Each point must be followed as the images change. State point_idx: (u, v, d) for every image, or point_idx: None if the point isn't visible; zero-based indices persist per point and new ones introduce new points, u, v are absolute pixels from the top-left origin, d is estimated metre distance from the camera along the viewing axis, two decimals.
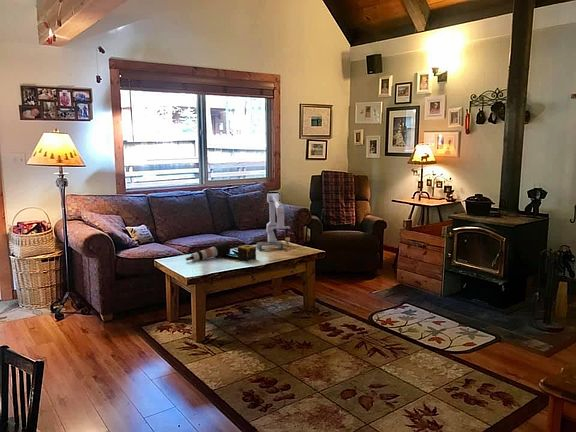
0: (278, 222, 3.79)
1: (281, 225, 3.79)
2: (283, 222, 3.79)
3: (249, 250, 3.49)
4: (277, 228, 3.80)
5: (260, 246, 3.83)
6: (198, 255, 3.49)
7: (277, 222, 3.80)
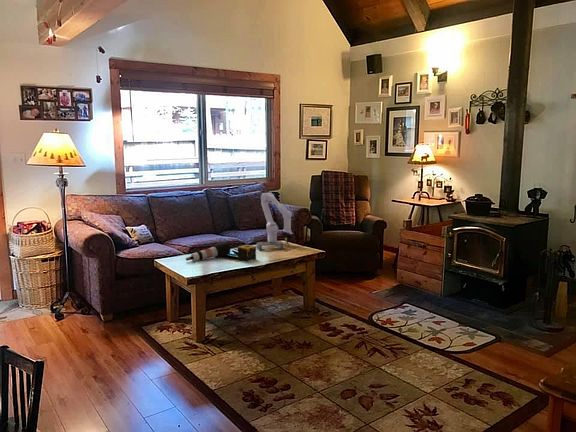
0: None
1: (284, 228, 3.99)
2: (285, 226, 3.98)
3: (249, 250, 3.49)
4: None
5: (260, 246, 3.83)
6: (198, 255, 3.49)
7: None
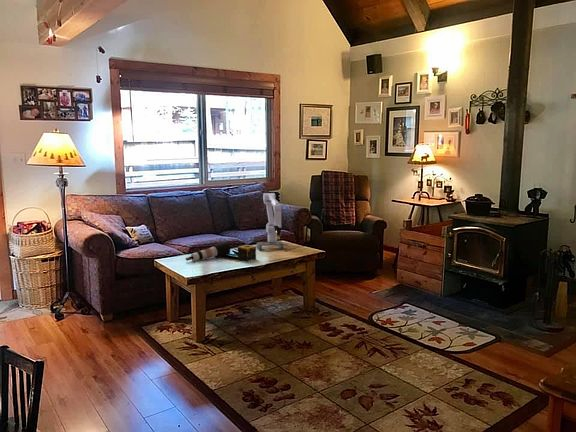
0: None
1: (274, 222, 3.93)
2: (275, 219, 3.91)
3: (249, 250, 3.49)
4: (275, 224, 3.96)
5: (260, 246, 3.83)
6: (198, 255, 3.49)
7: None
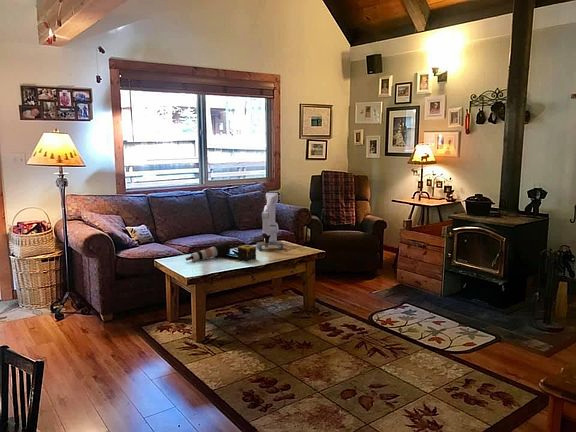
0: None
1: None
2: (264, 227, 3.85)
3: (249, 250, 3.49)
4: None
5: (260, 246, 3.83)
6: (198, 255, 3.49)
7: None
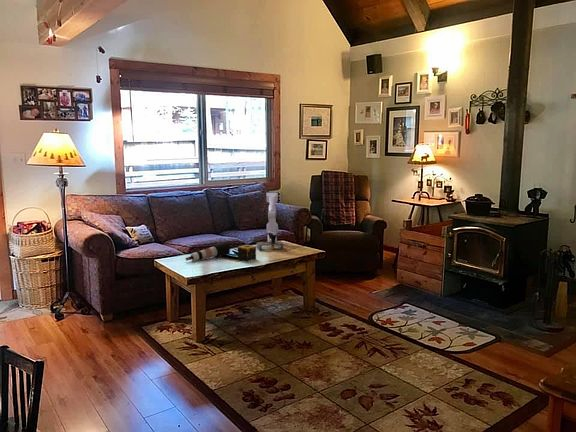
0: None
1: (268, 229, 3.88)
2: (270, 227, 3.86)
3: (249, 250, 3.49)
4: None
5: (260, 246, 3.83)
6: (198, 255, 3.50)
7: None
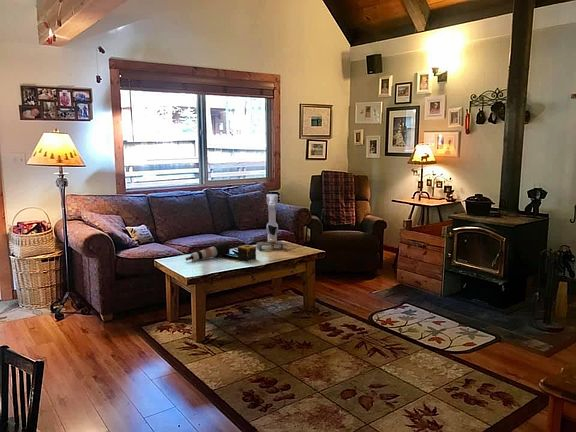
0: (269, 218, 3.97)
1: (269, 221, 3.95)
2: (270, 219, 3.93)
3: (249, 250, 3.49)
4: None
5: (260, 246, 3.83)
6: (198, 255, 3.50)
7: None
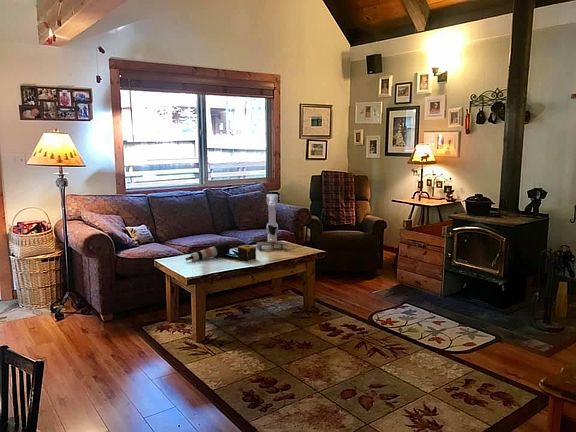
0: (269, 218, 3.97)
1: (269, 221, 3.95)
2: (270, 219, 3.93)
3: (249, 250, 3.49)
4: None
5: (260, 246, 3.83)
6: (198, 255, 3.50)
7: None
